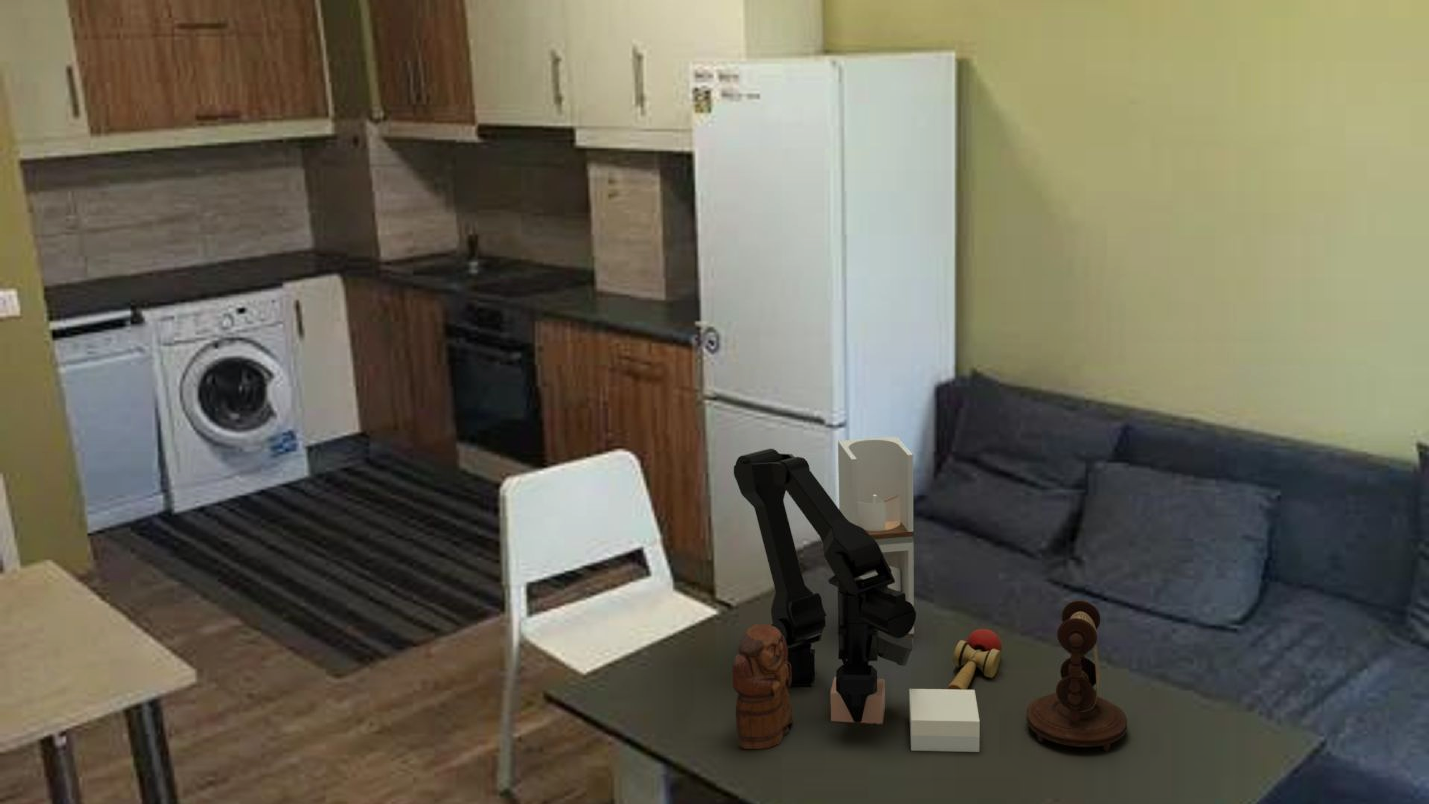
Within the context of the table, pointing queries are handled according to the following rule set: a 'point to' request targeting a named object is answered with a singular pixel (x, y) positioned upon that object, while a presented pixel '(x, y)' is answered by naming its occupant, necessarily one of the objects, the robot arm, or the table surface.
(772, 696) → the wooden figurine
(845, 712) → the coral brick
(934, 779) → the table surface
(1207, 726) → the table surface
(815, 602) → the robot arm
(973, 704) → the white foam block
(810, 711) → the table surface
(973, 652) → the kendama
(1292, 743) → the table surface
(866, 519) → the white shelf stand
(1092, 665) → the brown upright round-based piece
